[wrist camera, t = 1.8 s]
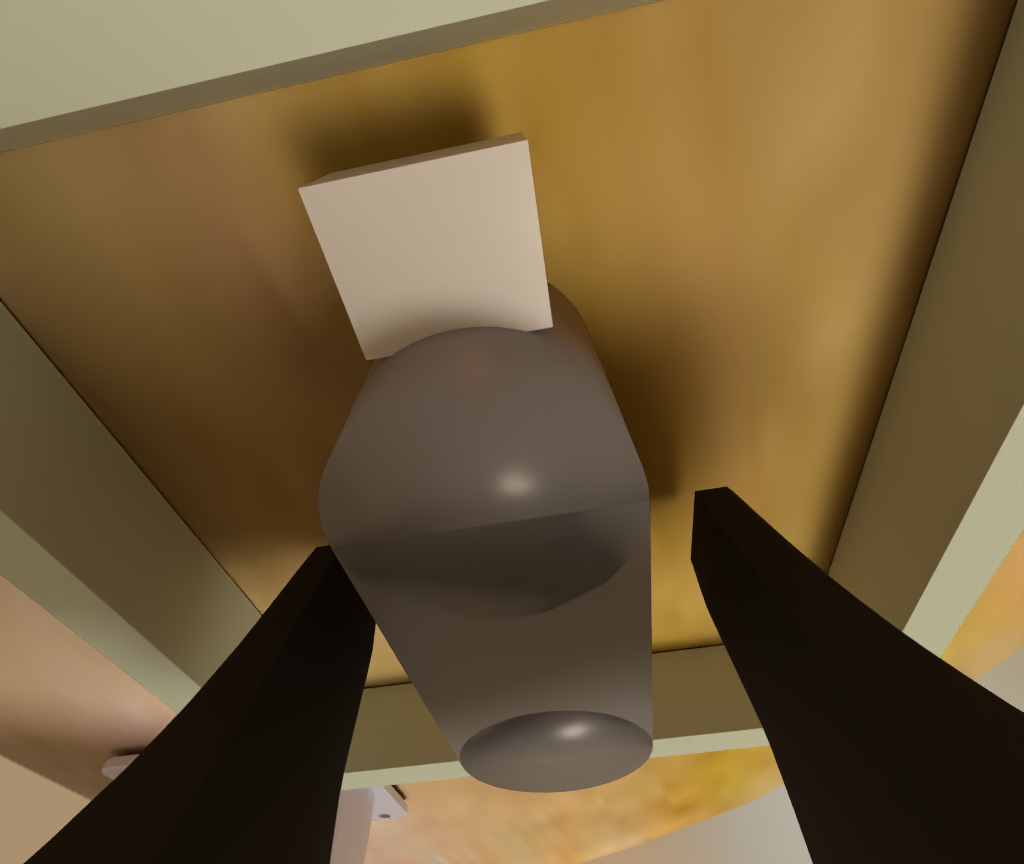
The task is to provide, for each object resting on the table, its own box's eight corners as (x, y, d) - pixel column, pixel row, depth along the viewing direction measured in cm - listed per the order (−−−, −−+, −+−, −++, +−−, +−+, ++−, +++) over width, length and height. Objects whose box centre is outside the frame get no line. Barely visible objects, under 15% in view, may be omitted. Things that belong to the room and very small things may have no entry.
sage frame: (307, 714, 17) (282, 796, 15) (-266, 94, 6) (-608, 94, 4) (839, 650, 15) (890, 732, 13) (1227, -283, 5) (1715, -536, 3)
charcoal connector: (485, 640, 14) (482, 799, 11) (305, 171, 7) (145, 236, 4) (616, 623, 14) (653, 782, 11) (572, 113, 7) (645, 131, 3)
